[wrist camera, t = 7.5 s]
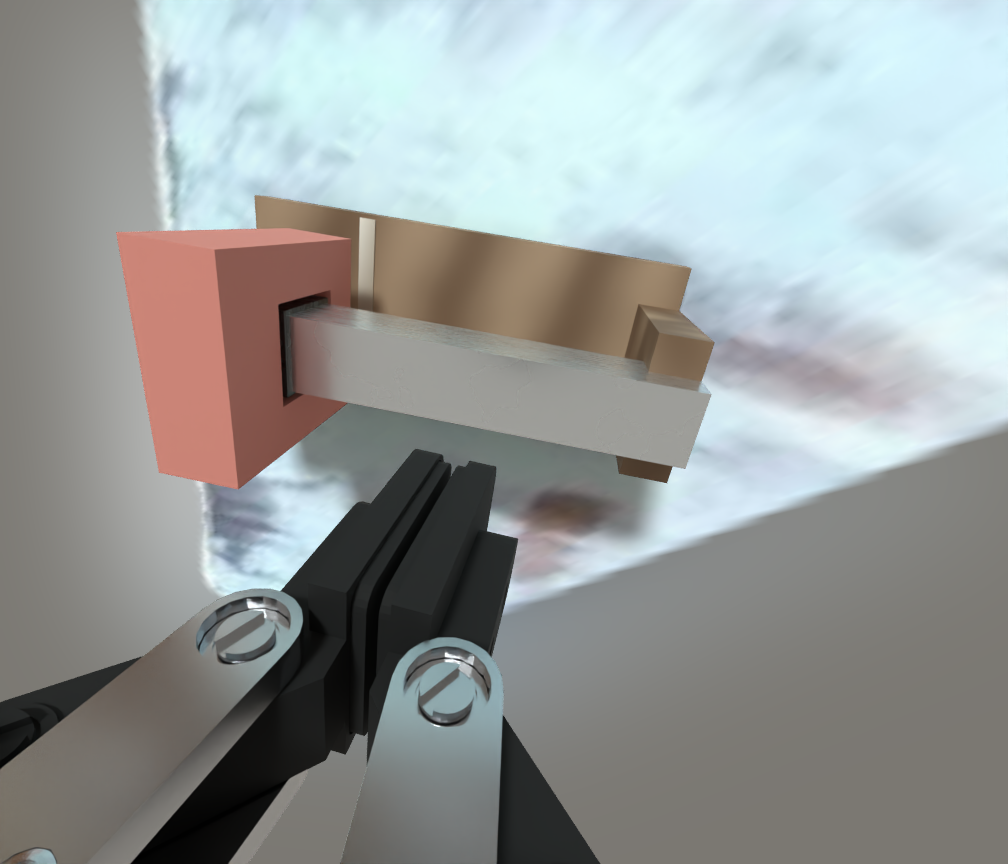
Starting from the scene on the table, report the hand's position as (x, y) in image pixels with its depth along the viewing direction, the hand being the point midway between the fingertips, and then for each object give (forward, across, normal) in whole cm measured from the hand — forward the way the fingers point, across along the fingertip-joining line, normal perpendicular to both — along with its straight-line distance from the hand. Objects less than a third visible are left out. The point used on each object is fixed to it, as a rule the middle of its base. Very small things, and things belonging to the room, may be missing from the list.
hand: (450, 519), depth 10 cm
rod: (+12, +4, +1) cm, 12 cm away
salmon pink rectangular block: (+14, +11, +1) cm, 17 cm away
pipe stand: (+18, +5, +1) cm, 18 cm away
